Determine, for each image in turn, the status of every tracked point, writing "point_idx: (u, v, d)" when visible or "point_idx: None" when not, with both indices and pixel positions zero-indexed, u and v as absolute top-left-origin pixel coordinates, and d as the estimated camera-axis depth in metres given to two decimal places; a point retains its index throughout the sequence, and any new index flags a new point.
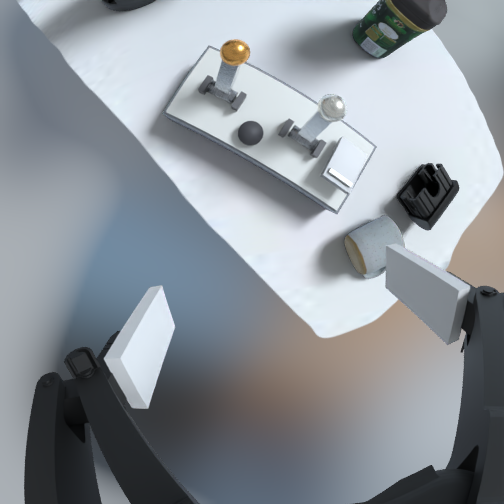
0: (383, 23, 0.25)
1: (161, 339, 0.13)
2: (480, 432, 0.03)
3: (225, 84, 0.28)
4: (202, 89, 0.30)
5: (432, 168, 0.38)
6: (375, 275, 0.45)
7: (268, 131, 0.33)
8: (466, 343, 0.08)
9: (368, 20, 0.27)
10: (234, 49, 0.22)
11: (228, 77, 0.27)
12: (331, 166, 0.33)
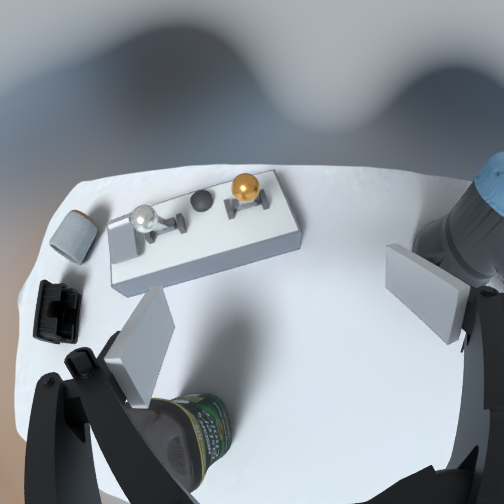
0: (182, 402, 0.24)
1: (161, 339, 0.13)
2: (481, 432, 0.03)
3: None
4: (260, 191, 0.38)
5: None
6: None
7: (192, 214, 0.39)
8: (466, 343, 0.08)
9: (206, 405, 0.26)
10: (242, 176, 0.29)
11: None
12: (129, 224, 0.36)
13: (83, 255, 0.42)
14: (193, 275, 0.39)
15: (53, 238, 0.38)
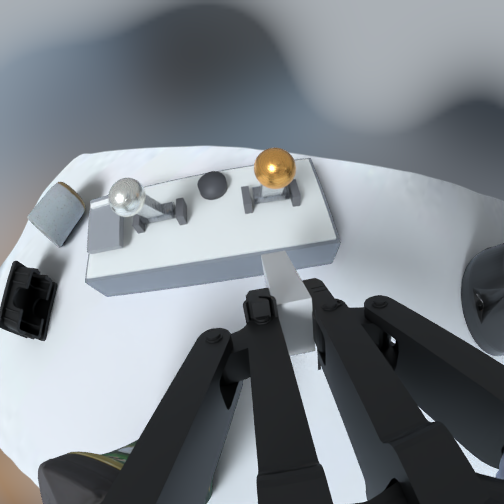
0: None
1: None
2: (391, 466, 0.03)
3: None
4: None
5: (30, 333, 0.27)
6: None
7: (198, 202, 0.30)
8: (322, 362, 0.10)
9: None
10: (271, 151, 0.19)
11: None
12: None
13: (63, 236, 0.34)
14: (190, 281, 0.30)
15: (32, 212, 0.30)
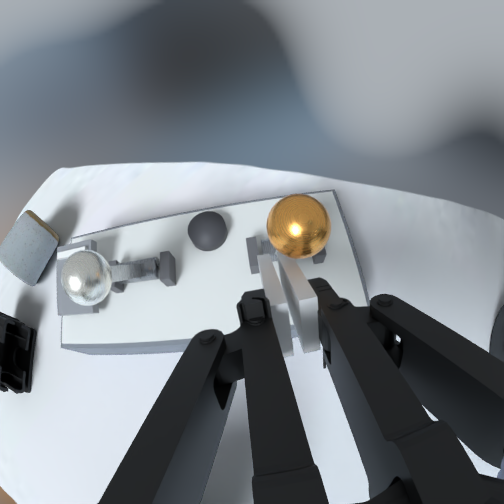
0: None
1: None
2: (394, 463, 0.03)
3: None
4: None
5: (13, 387, 0.20)
6: None
7: (189, 253, 0.23)
8: (327, 361, 0.10)
9: None
10: (295, 200, 0.12)
11: None
12: None
13: (36, 275, 0.27)
14: (183, 349, 0.23)
15: None
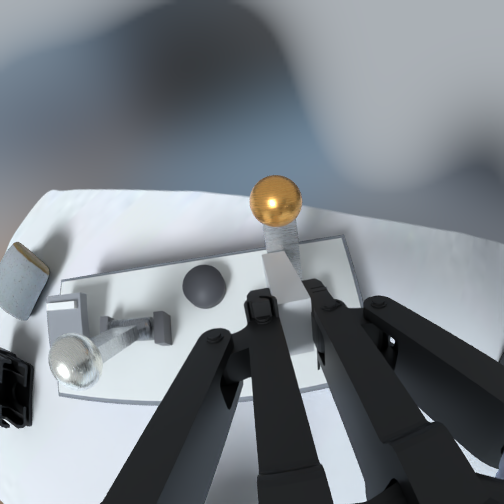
0: None
1: None
2: (391, 466, 0.03)
3: None
4: None
5: (15, 422, 0.18)
6: None
7: (185, 310, 0.21)
8: (321, 362, 0.10)
9: None
10: None
11: None
12: (76, 312, 0.18)
13: (28, 310, 0.25)
14: None
15: None
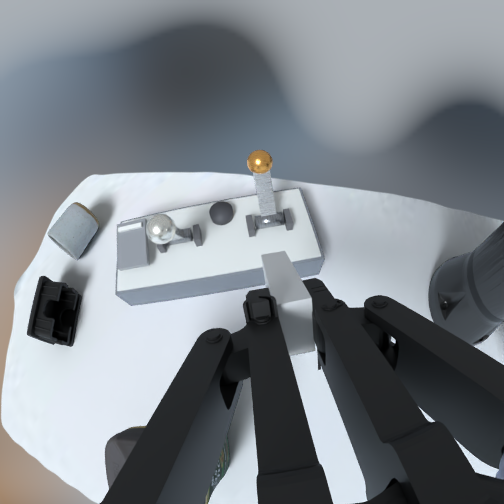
0: None
1: None
2: (391, 466, 0.03)
3: None
4: (285, 210, 0.36)
5: None
6: None
7: (210, 227, 0.37)
8: (322, 362, 0.10)
9: None
10: None
11: None
12: (141, 229, 0.34)
13: (81, 250, 0.40)
14: (204, 291, 0.37)
15: (52, 229, 0.36)
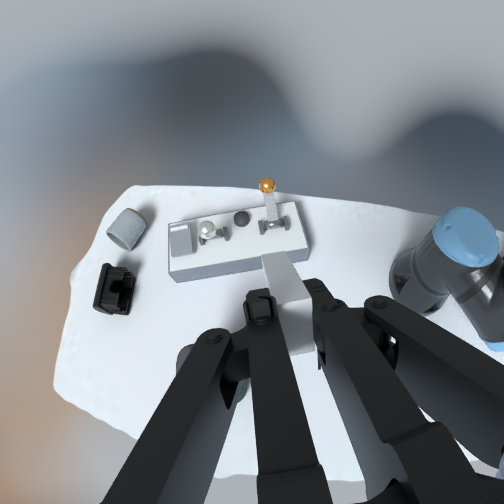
0: None
1: None
2: (391, 465, 0.03)
3: None
4: (284, 217, 0.54)
5: (120, 310, 0.52)
6: None
7: (234, 228, 0.56)
8: (322, 362, 0.10)
9: None
10: None
11: None
12: (187, 229, 0.53)
13: (134, 244, 0.60)
14: (230, 271, 0.56)
15: (111, 228, 0.56)
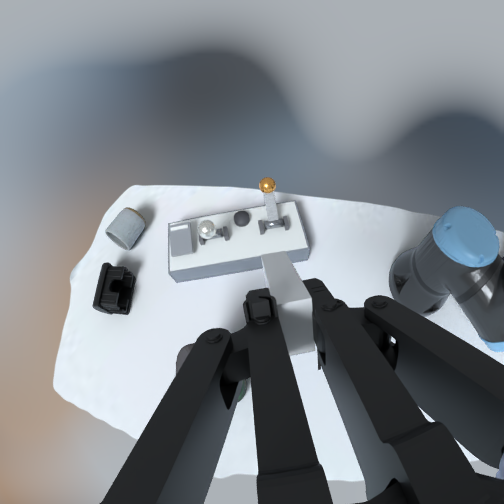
0: None
1: None
2: (391, 465, 0.03)
3: None
4: (284, 217, 0.54)
5: None
6: None
7: (234, 227, 0.56)
8: (322, 362, 0.10)
9: None
10: None
11: None
12: (187, 229, 0.53)
13: (133, 243, 0.60)
14: (230, 271, 0.56)
15: (110, 227, 0.56)
